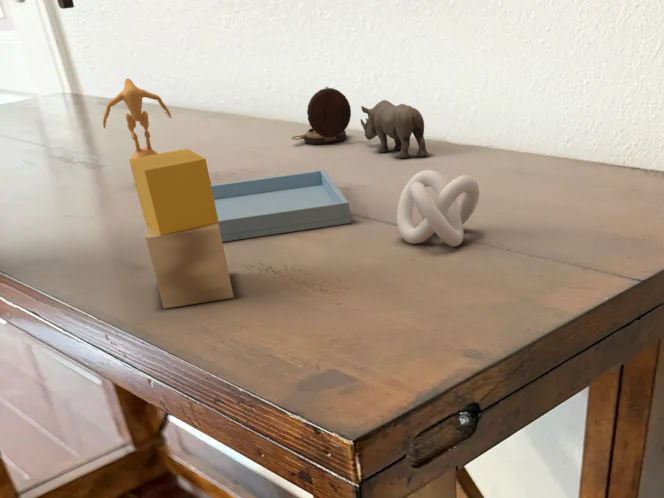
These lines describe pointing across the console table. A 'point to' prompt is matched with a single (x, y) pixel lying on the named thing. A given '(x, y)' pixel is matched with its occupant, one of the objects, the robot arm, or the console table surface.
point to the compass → (327, 117)
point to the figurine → (136, 114)
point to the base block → (189, 265)
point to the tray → (279, 205)
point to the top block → (174, 191)
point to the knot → (436, 207)
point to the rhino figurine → (395, 126)
